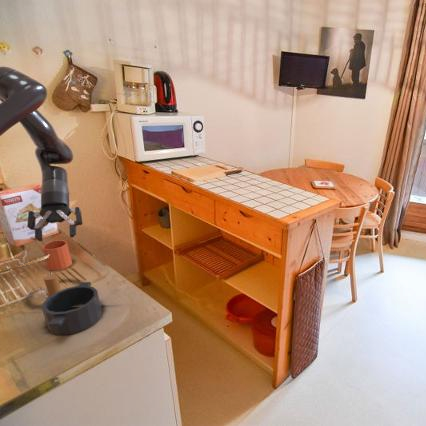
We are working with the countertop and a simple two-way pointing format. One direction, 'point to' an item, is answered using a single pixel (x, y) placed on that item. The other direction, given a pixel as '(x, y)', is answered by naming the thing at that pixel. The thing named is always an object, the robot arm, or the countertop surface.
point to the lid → (52, 284)
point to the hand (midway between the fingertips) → (56, 238)
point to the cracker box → (22, 214)
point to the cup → (57, 255)
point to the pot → (72, 309)
